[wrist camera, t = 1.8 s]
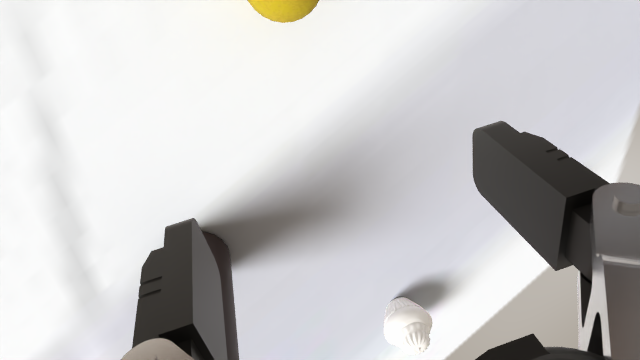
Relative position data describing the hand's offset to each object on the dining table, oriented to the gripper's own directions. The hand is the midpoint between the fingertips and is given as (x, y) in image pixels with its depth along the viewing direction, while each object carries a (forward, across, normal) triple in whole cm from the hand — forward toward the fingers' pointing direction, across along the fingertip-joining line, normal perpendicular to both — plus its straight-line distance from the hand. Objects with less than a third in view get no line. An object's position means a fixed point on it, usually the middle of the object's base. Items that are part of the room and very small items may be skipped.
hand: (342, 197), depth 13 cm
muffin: (+27, -8, +40) cm, 49 cm away
